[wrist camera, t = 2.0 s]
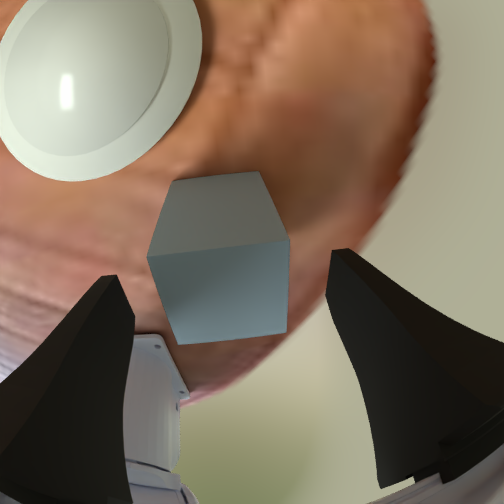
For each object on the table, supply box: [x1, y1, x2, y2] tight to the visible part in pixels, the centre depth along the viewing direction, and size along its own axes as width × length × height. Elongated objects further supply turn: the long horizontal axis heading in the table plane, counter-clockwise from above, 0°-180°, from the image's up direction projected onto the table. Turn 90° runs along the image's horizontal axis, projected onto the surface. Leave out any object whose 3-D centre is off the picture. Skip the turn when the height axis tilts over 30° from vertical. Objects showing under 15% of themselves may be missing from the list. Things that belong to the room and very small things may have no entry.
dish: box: [0, 0, 202, 181], centre depth 8 cm, size 11×11×1 cm
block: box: [147, 171, 290, 345], centre depth 11 cm, size 4×4×6 cm
